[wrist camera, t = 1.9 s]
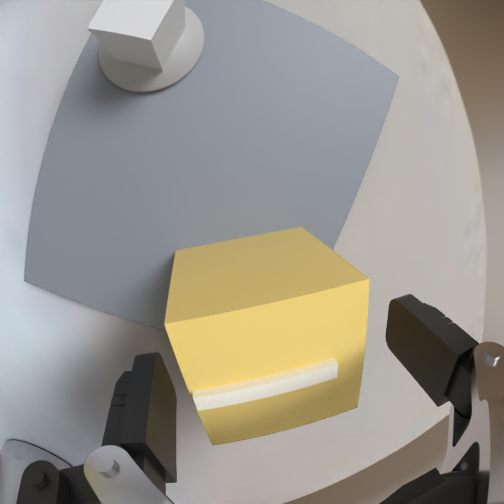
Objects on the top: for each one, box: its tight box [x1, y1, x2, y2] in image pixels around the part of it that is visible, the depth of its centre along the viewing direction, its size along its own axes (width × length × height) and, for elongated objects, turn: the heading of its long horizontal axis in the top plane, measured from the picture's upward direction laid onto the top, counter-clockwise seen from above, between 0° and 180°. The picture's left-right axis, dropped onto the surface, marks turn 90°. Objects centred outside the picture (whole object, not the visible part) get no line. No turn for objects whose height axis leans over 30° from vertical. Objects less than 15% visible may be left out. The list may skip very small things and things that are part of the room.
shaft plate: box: [24, 0, 399, 330], centre depth 10 cm, size 16×14×5 cm
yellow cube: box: [164, 227, 369, 445], centre depth 11 cm, size 6×6×6 cm
